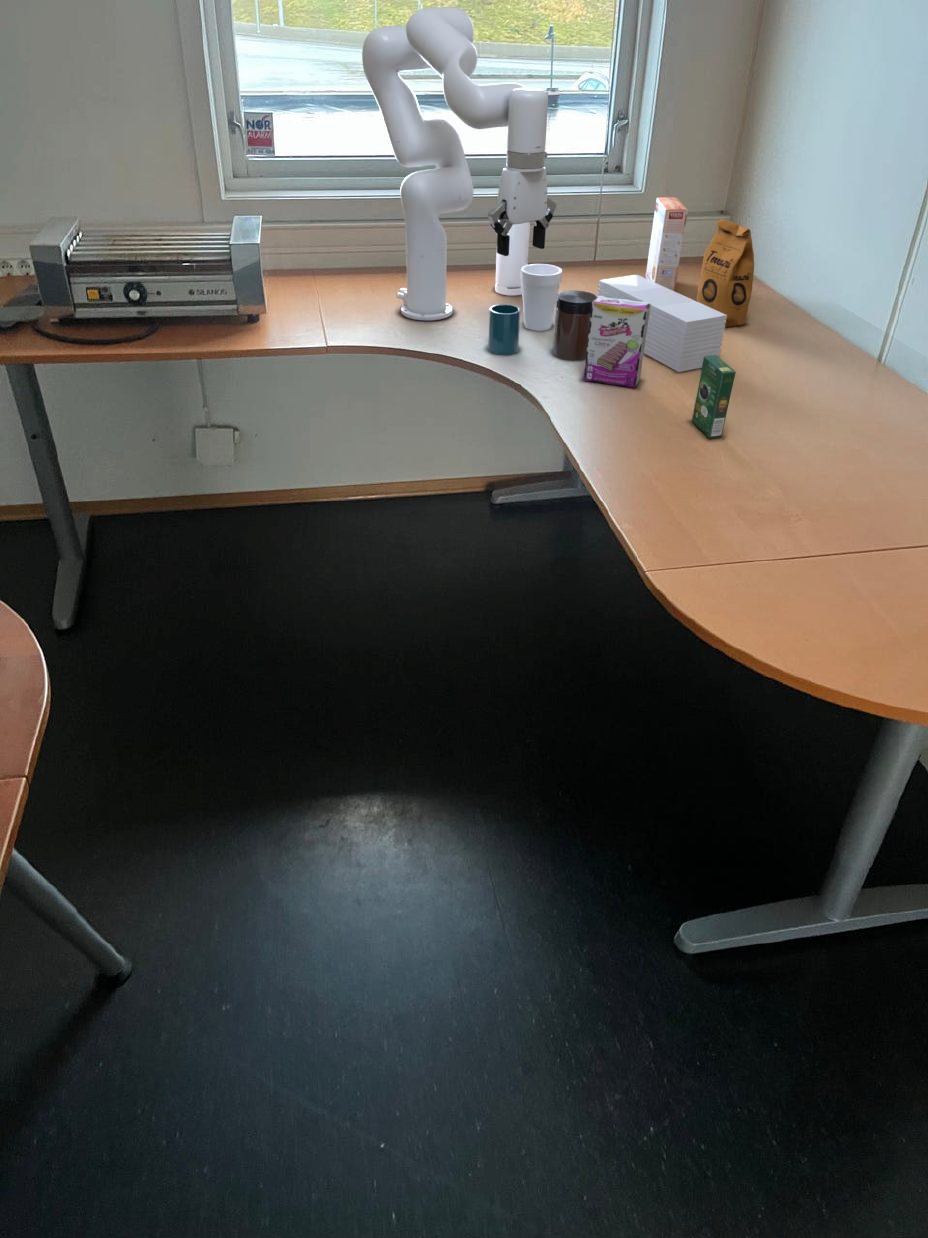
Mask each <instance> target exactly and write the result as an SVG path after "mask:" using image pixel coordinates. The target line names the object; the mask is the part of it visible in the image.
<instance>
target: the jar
mask: <svg viewBox="0 0 928 1238" xmlns="http://www.w3.org/2000/svg"><path fill="white" fill-rule="evenodd" d="M590 317H591V312H590V313H584V314H574V313H567V312H563V311H561V310H559V309H557V307H556V306H555V321H554V332H553V344H552V345H553V346H552V347H553V348H552V354H553V356H554V357H556V358H558V359H561V360H564V361H571V362H572V361H574V362H575V361H576V362H577V361H583V360H586V353H587V344H588V335H589V326H590Z"/></svg>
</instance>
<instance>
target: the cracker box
mask: <svg viewBox="0 0 928 1238" xmlns="http://www.w3.org/2000/svg"><path fill="white" fill-rule="evenodd" d="M654 207H655V208H654V215H653V221H652V227H651V228H652V229H651V236H650V241H649V249H648V256H647V264H646V271H645V277H644V278H646V279H648V280H650V281H652V282H655V283H657V284H659V285H661V286H663V287H666V288H668V289H670V290H672V291H674V292H676V285H677V278H678V272H679V266H680V260H681V255H682V248H683V240H684V235H685V229H686V224H687V217H688V209H687V207H686V206H685V205H684V204H683V203H682V202H681V200H680V199H679V198H678V197H668V196H667V197H663V196H662V197H656V199H655V206H654Z"/></svg>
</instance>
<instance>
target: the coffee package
mask: <svg viewBox="0 0 928 1238" xmlns="http://www.w3.org/2000/svg"><path fill="white" fill-rule="evenodd" d="M716 226H717V230H716V232H715V234H714V235H713V237H712V239H711V241H710V243H709V244H708V246H707V248H706V250H705V252H704V254H703V257H702V258H703V259H702V266H701V272H700V275H699V283H698V288H697V296H696V301H697V302H699V303H701V304H703V305H705V306H708V307H710V308H712V309H714V310H717V311H719V312H721V313H723V314H725V315H727V319H725V320H726V324H724V325H725V328H726V327H728V328H731V327H741V326H744V325H745V324H746V319H747V315H748V311H749V310H748V309H749V305H750V301H751V297H752V293H753V282H754V272H755V254H754V248H753V238H752V231H751V229H750V228H747V227H745V226H742V225H741V224H738V223H735V222H732V221H729V220H726V219H724V218H721V219H719V220H718V221H717V223H716Z"/></svg>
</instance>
